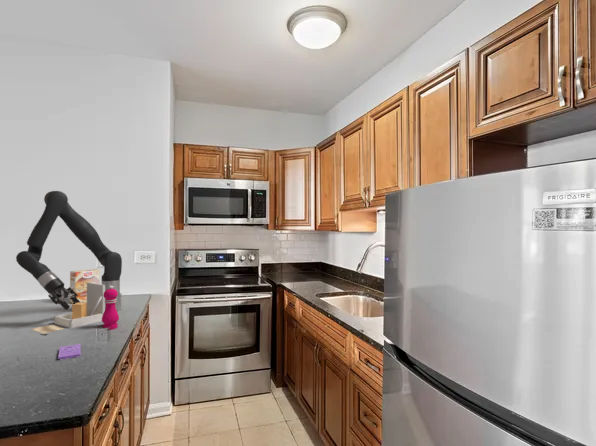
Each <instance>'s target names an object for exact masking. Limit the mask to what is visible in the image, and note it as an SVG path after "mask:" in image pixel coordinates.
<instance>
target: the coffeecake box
mask: <svg viewBox="0 0 596 446" xmlns="http://www.w3.org/2000/svg"><path fill="white" fill-rule="evenodd" d="M87 283H96V284H100V269H98V268H97V269H96V268H94V269H93V268H92V269H91V268H90V269H80V270H70V271H69V287H70V288H71V289H72V290H73V291H74V292H75V293H76V294H77V295H78V296H77V297H76V298H77V299H78V300H79V301H80V302H83V303H87ZM73 295H74V294H73ZM71 298H72V297H71ZM70 302H71V304H73V303H74V302H73V301H72V300H70V299H69V303H70Z"/></svg>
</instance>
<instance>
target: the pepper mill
mask: <svg viewBox="0 0 596 446" xmlns="http://www.w3.org/2000/svg"><path fill="white" fill-rule="evenodd" d="M112 288H113V286H109V289H107V290H106V291H105V292H104V298H105V303H106V307H105V311H104V313H103V316H102V321H101V322H102V323H103V324H102V328H104V329H106V330H110V331H111V330H115V329H116V330H117V328H118V326H119V325H118V324H119V323H118V321H119V318H120V317H119V313H118V311H117V310H116V307H115V303H116V300H117V299H116V297H117V296H118V292H117V291H116V290H115V289H112Z"/></svg>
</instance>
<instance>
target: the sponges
mask: <svg viewBox="0 0 596 446" xmlns="http://www.w3.org/2000/svg"><path fill="white" fill-rule="evenodd" d="M77 356H82V355H81V343H77V344H70V345H65V346H64V345H63V346H59V351H58V356H57V357H58V358H57V359H64V360H67V359H66V358H70V359H73V358H72V357H77ZM77 358H78V357H77Z"/></svg>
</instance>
